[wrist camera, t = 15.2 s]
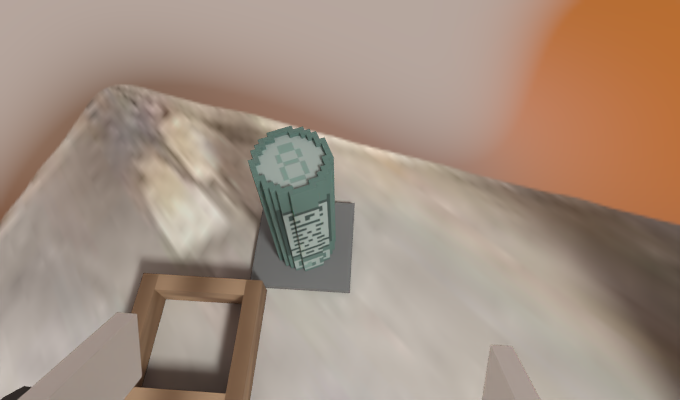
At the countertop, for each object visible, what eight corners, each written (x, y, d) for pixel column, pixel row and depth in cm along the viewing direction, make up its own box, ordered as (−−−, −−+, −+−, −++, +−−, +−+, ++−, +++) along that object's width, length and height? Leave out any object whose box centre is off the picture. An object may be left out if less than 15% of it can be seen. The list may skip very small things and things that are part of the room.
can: (322, 209, 47) (315, 118, 34) (342, 258, 44) (343, 178, 31) (269, 227, 46) (240, 140, 33) (286, 278, 43) (262, 204, 30)
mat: (354, 206, 48) (354, 203, 48) (349, 293, 43) (349, 291, 43) (265, 201, 48) (264, 198, 48) (250, 286, 43) (249, 284, 43)
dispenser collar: (267, 290, 43) (262, 280, 41) (247, 417, 37) (240, 415, 35) (155, 283, 44) (143, 273, 41) (118, 408, 38) (102, 404, 35)
